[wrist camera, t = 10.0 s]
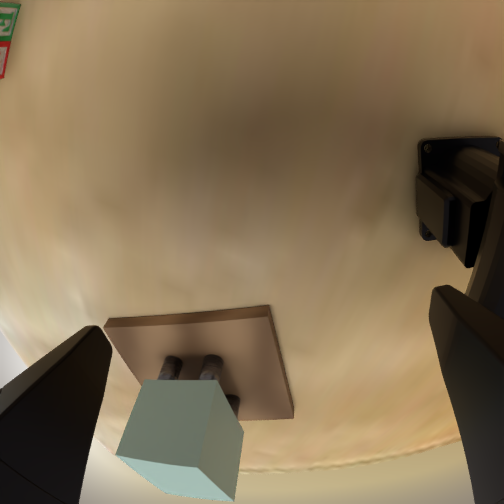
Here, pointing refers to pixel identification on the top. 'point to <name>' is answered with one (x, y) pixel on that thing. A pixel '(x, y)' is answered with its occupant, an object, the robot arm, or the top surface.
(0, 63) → the stack of blocks
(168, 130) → the top surface
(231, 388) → the peg stand
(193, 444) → the teal block
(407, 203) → the top surface
